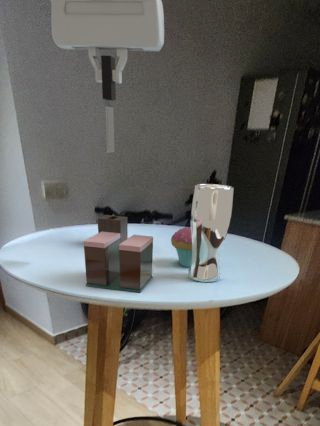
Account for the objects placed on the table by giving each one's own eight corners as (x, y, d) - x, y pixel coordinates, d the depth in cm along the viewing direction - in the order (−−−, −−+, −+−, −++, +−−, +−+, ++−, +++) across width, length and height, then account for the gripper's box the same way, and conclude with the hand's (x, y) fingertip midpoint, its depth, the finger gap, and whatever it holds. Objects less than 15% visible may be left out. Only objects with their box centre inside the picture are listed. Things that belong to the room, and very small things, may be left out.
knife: (103, 152, 74) (100, 55, 66) (109, 152, 77) (106, 58, 68) (112, 152, 74) (109, 55, 65) (117, 152, 76) (115, 58, 68)
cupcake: (218, 267, 76) (227, 201, 69) (186, 272, 72) (192, 203, 65) (193, 257, 81) (198, 195, 74) (161, 261, 77) (164, 196, 70)
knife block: (98, 247, 85) (97, 218, 82) (106, 242, 89) (105, 214, 86) (120, 249, 84) (120, 220, 81) (127, 244, 89) (127, 216, 85)
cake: (85, 286, 63) (82, 241, 59) (103, 272, 70) (101, 231, 65) (140, 292, 61) (140, 247, 57) (152, 278, 68) (154, 236, 64)
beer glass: (197, 269, 74) (206, 182, 65) (228, 277, 71) (242, 187, 62) (178, 277, 69) (185, 184, 60) (210, 285, 66) (223, 189, 57)
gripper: (39, -35, 60) (50, 78, 68) (160, -37, 57) (156, 82, 65) (56, -21, 65) (64, 83, 73) (168, -22, 62) (164, 87, 70)
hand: (108, 83), depth 69 cm, fingers closed on knife, 2 cm apart
